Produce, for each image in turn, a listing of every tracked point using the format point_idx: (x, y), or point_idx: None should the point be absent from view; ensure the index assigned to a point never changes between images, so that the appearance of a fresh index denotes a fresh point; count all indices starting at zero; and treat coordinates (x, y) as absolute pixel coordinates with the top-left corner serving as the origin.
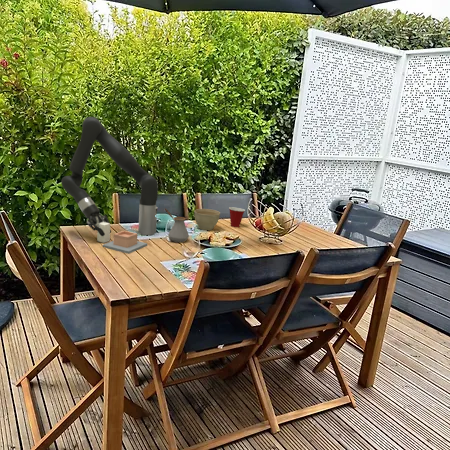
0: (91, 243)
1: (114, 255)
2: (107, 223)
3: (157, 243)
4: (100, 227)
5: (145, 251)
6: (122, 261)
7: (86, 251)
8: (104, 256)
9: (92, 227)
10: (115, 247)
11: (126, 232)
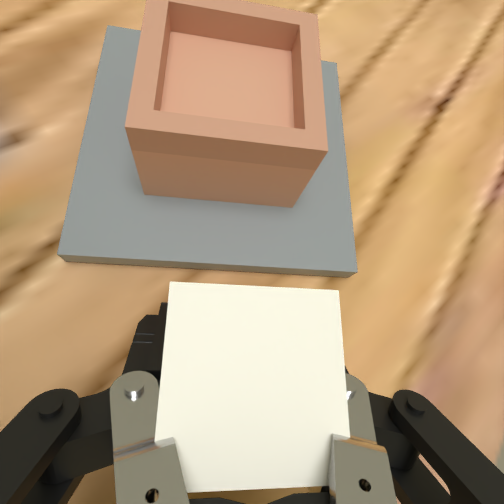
0: None
1: (407, 127)
2: (205, 325)
3: (18, 3)
4: None
5: None
6: (437, 59)
7: (492, 310)
8: (460, 164)
9: (429, 491)
10: (336, 160)
11: (158, 92)
